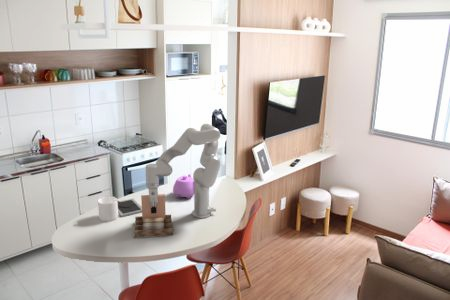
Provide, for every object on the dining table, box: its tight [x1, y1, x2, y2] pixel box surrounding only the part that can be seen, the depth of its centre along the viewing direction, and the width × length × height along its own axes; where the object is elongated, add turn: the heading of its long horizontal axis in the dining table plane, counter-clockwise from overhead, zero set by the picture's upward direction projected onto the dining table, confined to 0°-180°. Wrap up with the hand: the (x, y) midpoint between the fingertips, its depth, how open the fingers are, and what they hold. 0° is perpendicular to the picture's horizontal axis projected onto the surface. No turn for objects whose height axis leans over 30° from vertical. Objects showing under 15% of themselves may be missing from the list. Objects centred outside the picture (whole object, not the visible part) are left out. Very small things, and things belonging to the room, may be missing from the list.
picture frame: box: [117, 198, 142, 218], centre depth 262 cm, size 16×3×21 cm
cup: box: [97, 195, 119, 222], centre depth 248 cm, size 12×12×12 cm
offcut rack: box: [133, 214, 174, 238], centre depth 237 cm, size 22×18×4 cm
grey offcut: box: [143, 223, 164, 230], centre depth 231 cm, size 12×4×6 cm, turn 96°
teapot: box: [172, 173, 194, 200], centre depth 284 cm, size 20×20×15 cm
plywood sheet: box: [140, 193, 167, 220], centre depth 240 cm, size 14×2×18 cm, turn 100°
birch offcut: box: [143, 218, 164, 223], centre depth 237 cm, size 12×4×6 cm, turn 101°
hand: (153, 211), depth 240 cm, fingers closed on plywood sheet, 2 cm apart
